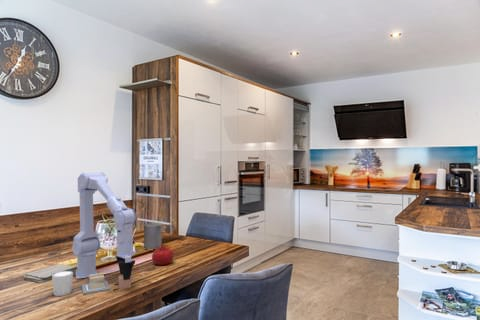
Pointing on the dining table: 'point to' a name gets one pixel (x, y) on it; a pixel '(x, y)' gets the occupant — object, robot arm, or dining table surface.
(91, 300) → the dining table surface
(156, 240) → the pillar candle
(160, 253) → the pomegranate
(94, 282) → the base block
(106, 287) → the base plate
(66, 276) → the grey cylinder
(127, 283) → the top block
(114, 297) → the dining table surface
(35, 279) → the washcloth
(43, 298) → the dining table surface
